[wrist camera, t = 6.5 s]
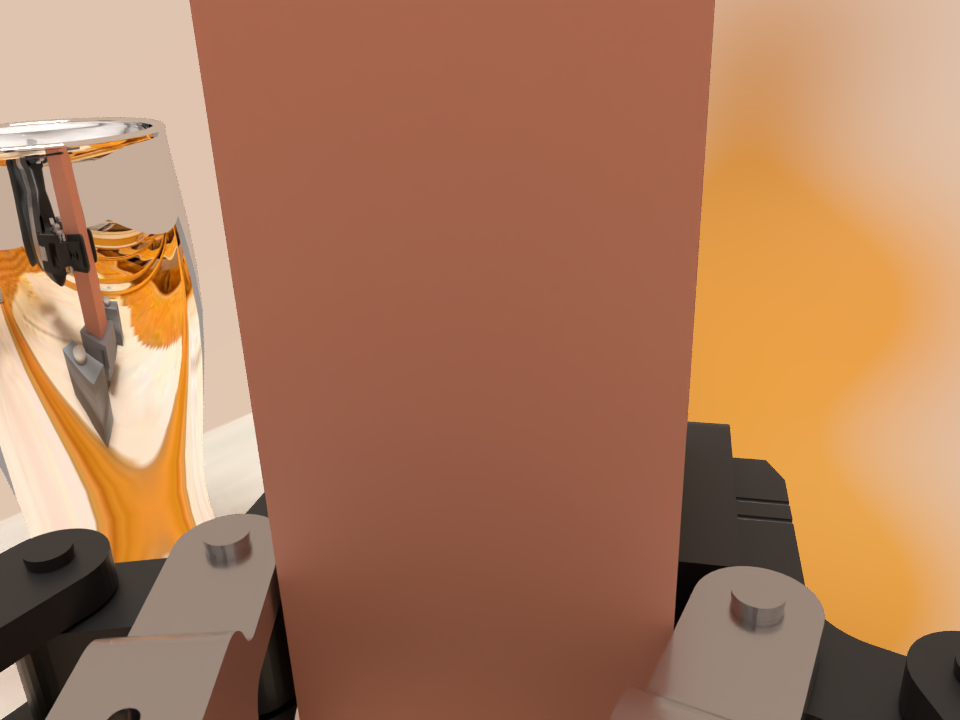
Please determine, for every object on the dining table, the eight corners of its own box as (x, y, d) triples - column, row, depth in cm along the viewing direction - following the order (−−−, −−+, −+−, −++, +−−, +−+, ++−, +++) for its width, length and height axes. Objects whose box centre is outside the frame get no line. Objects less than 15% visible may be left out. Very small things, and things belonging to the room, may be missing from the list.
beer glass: (290, 576, 29) (225, 121, 23) (102, 704, 24) (-43, 160, 18) (168, 514, 33) (86, 112, 27) (-17, 612, 28) (-166, 141, 22)
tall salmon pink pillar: (270, 1243, 12) (-83, -188, 5) (407, 841, 18) (319, -89, 11) (709, 1382, 11) (957, -299, 4) (703, 897, 16) (801, -122, 10)
